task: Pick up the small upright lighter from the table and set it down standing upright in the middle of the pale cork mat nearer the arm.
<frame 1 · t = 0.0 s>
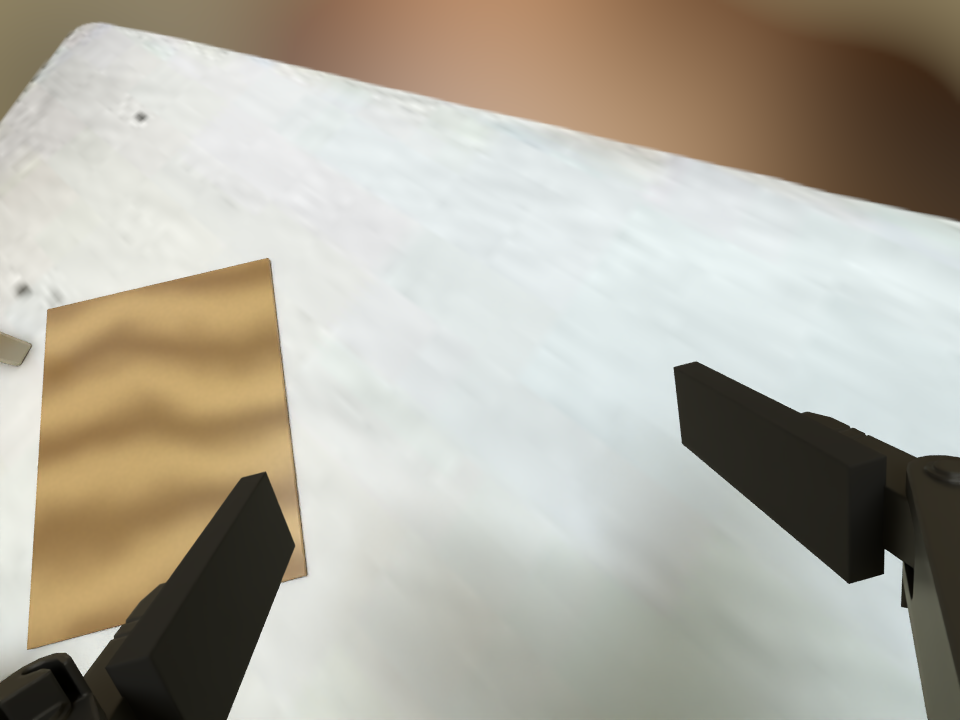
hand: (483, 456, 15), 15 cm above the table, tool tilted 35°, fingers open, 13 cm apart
cork mat: (165, 429, 32), on the table
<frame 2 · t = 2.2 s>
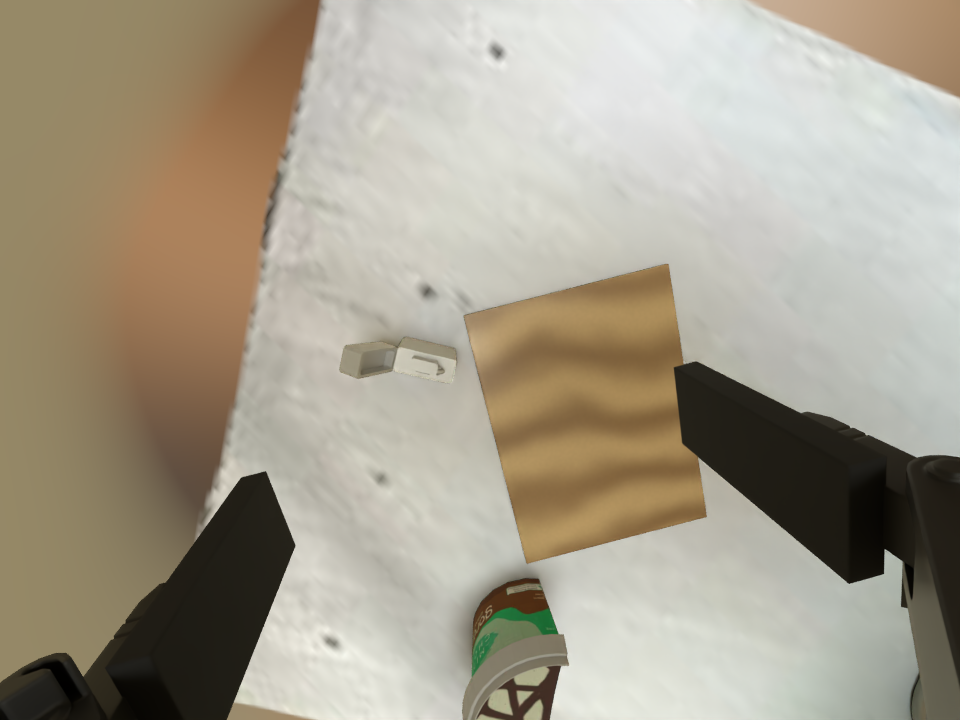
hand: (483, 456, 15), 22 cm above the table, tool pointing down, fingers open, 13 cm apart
cork mat: (592, 421, 39), on the table
lighter: (408, 348, 37), on the table
food container: (494, 619, 43), on the table
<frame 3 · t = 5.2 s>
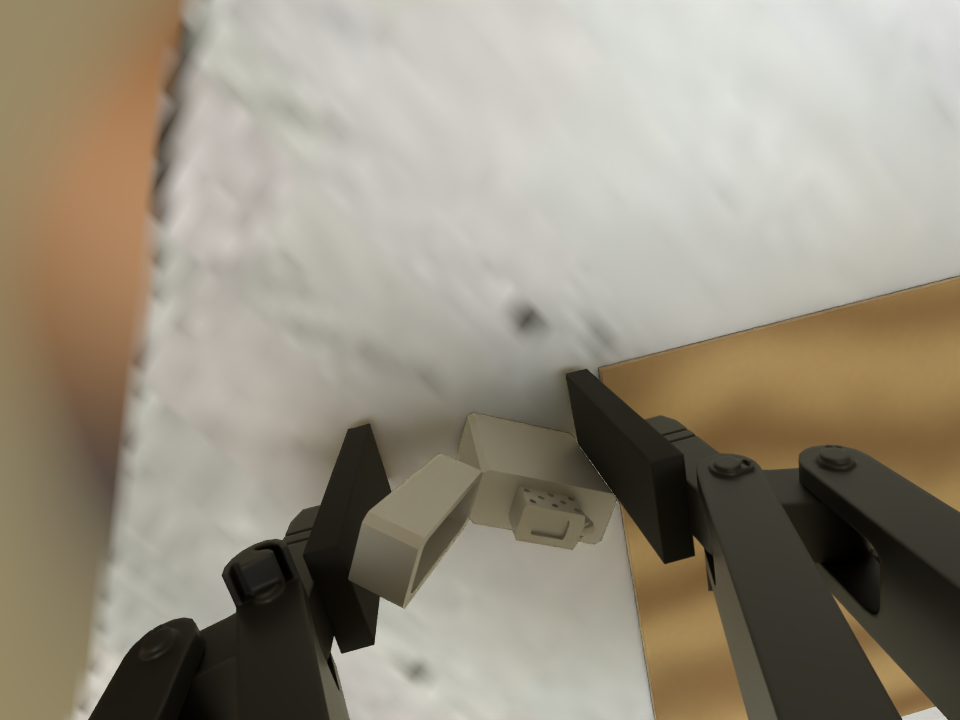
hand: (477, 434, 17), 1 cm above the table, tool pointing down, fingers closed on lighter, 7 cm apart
cork mat: (810, 556, 21), on the table
lighter: (477, 434, 18), on the table, touching gripper
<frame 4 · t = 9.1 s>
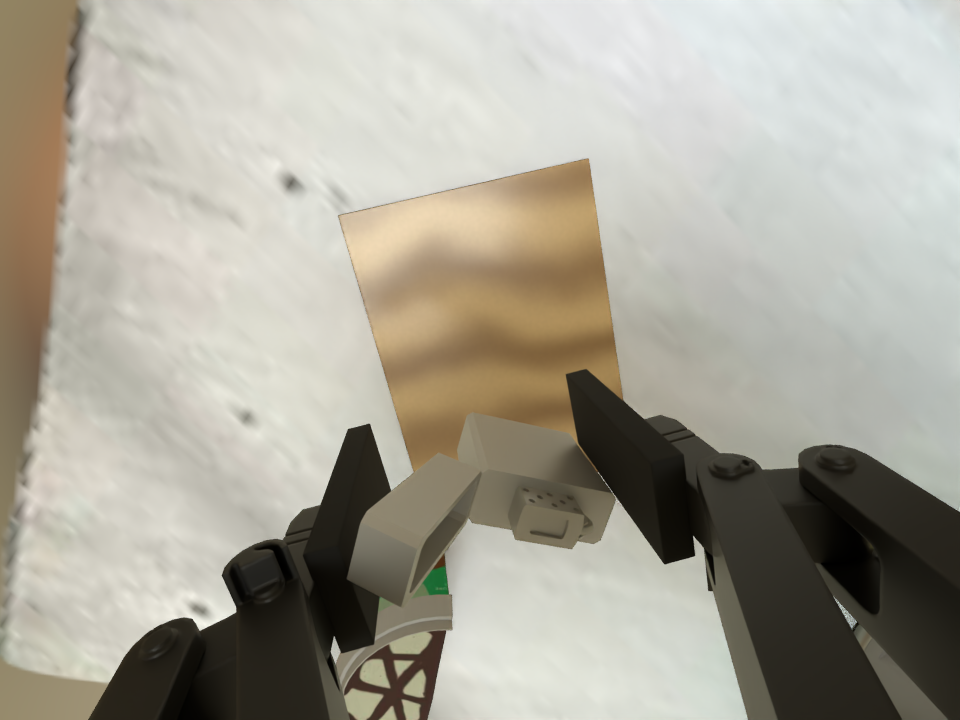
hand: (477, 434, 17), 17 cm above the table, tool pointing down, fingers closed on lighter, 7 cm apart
cork mat: (500, 351, 34), on the table
lighter: (476, 433, 18), point 16 cm above the table, touching gripper
food container: (392, 580, 38), on the table
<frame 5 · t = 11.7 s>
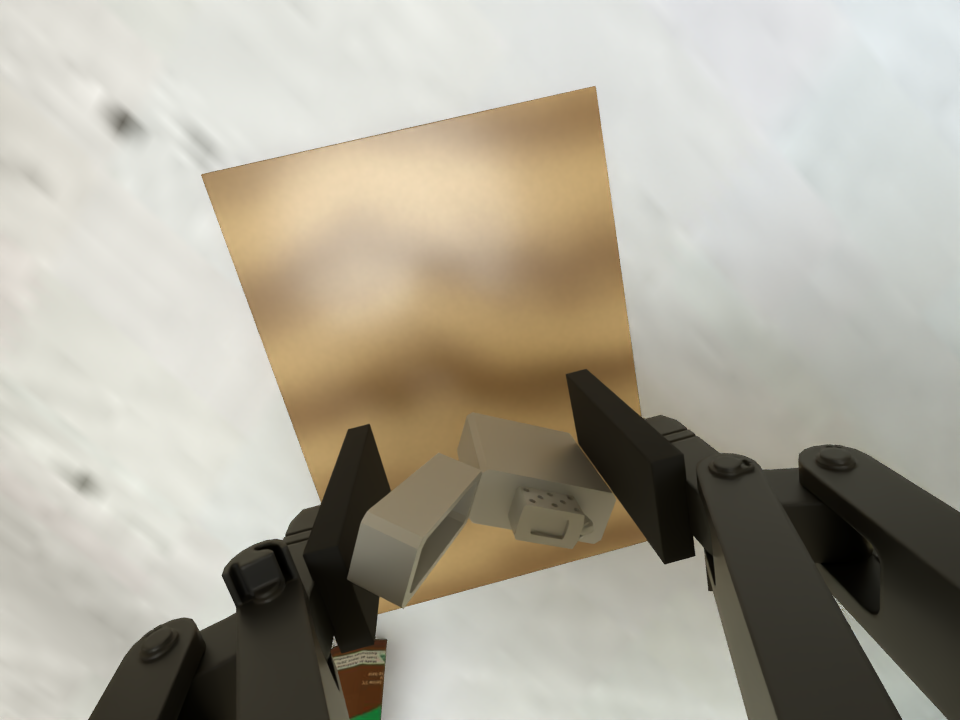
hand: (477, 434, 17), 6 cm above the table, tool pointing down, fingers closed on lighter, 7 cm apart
cork mat: (464, 382, 23), on the table
lighter: (476, 433, 18), point 5 cm above the table, touching gripper
food container: (319, 702, 27), on the table
when the fingers open (1 cm above the table, at t = 13.2 s): lighter stays where it is, resting on cork mat.
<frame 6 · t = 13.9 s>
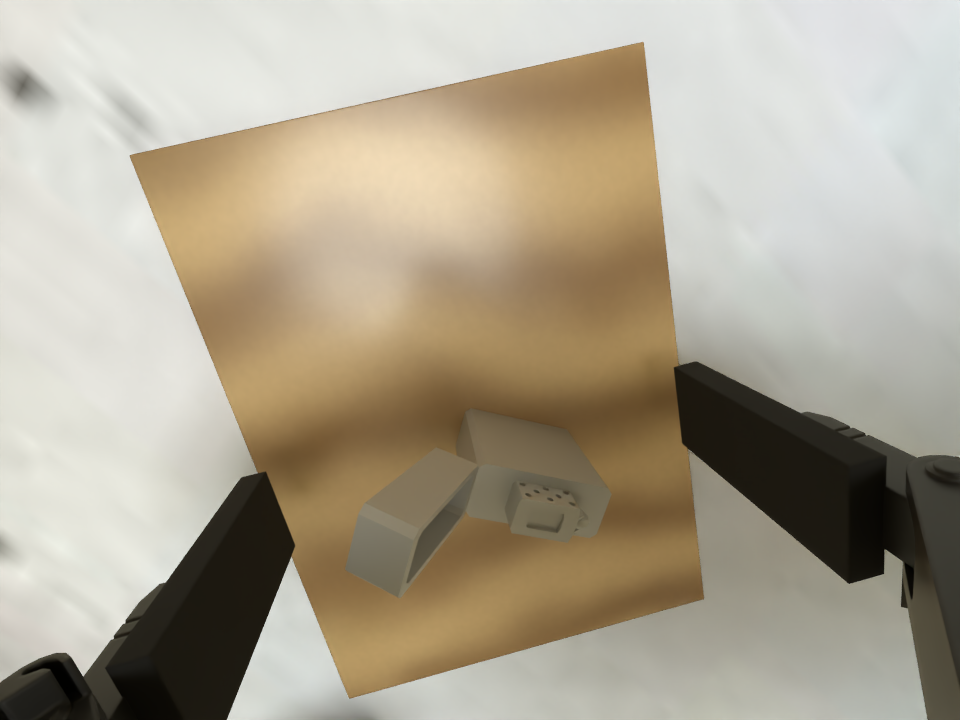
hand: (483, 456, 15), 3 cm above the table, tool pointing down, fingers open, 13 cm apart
cork mat: (472, 418, 18), on the table
lighter: (474, 429, 18), resting on cork mat
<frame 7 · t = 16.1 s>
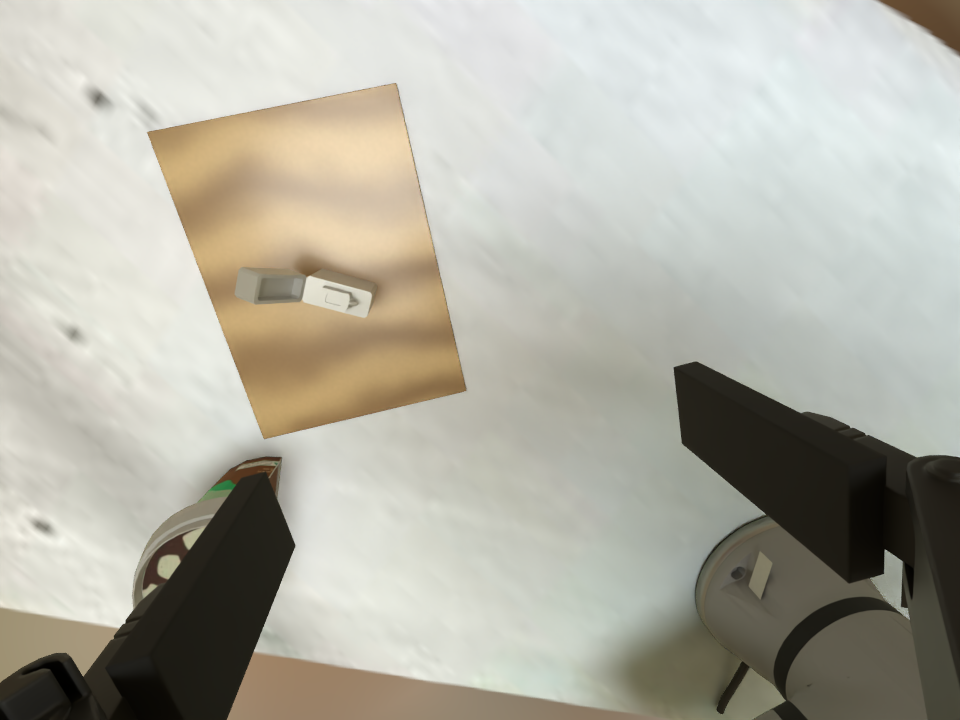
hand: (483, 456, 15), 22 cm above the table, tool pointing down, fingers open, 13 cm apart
cork mat: (325, 275, 35), on the table
lighter: (326, 281, 35), resting on cork mat
food container: (236, 503, 39), on the table
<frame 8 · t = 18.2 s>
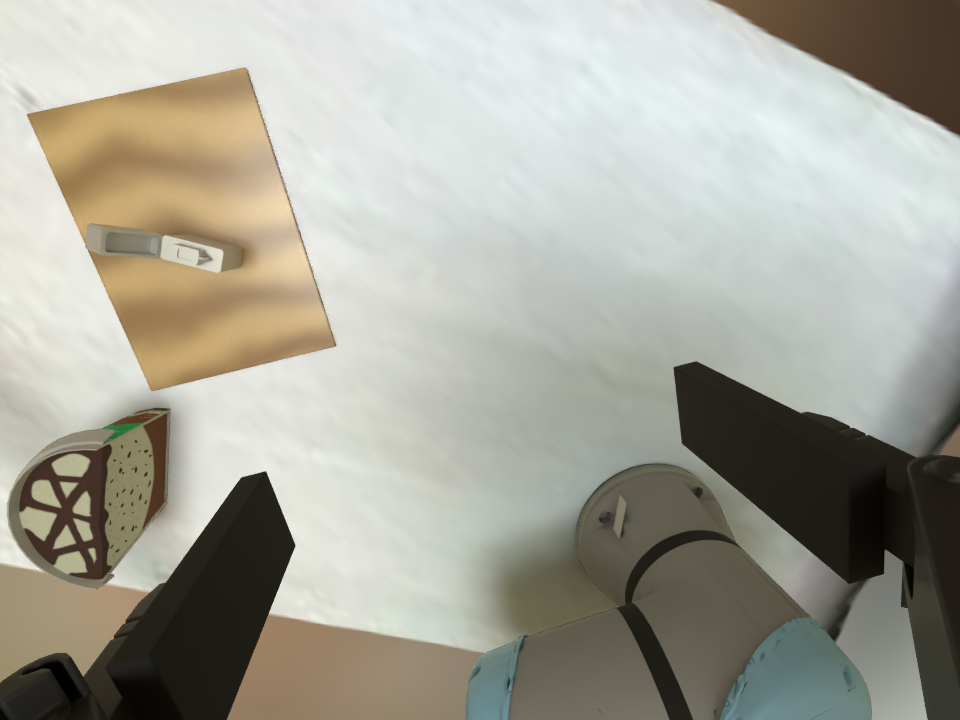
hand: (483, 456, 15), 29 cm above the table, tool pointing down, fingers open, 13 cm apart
cork mat: (196, 240, 39), on the table
lighter: (197, 246, 39), resting on cork mat
food container: (132, 451, 43), on the table
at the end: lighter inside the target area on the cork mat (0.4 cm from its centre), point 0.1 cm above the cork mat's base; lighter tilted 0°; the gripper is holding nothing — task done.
